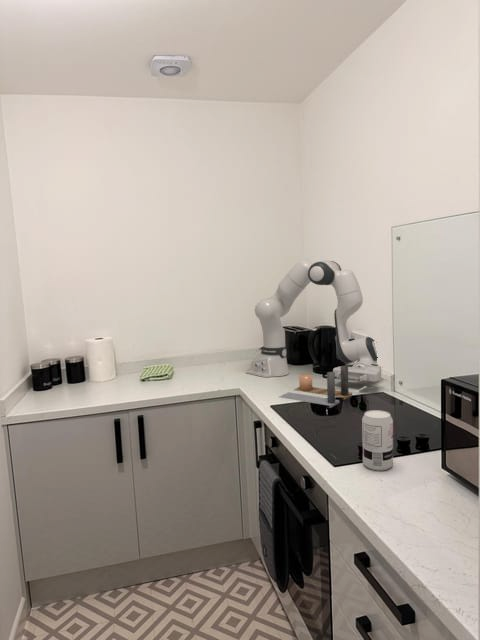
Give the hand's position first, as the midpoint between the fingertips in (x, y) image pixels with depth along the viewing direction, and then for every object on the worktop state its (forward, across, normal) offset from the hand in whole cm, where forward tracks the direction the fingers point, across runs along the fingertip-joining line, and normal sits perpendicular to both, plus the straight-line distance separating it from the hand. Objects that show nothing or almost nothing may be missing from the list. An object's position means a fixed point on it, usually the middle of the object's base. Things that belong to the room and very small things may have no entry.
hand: (348, 377), depth 205 cm
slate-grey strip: (+16, -11, +8) cm, 20 cm away
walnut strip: (+4, -10, +8) cm, 13 cm away
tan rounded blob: (+4, -18, +6) cm, 20 cm away
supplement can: (+59, +36, +8) cm, 70 cm away
